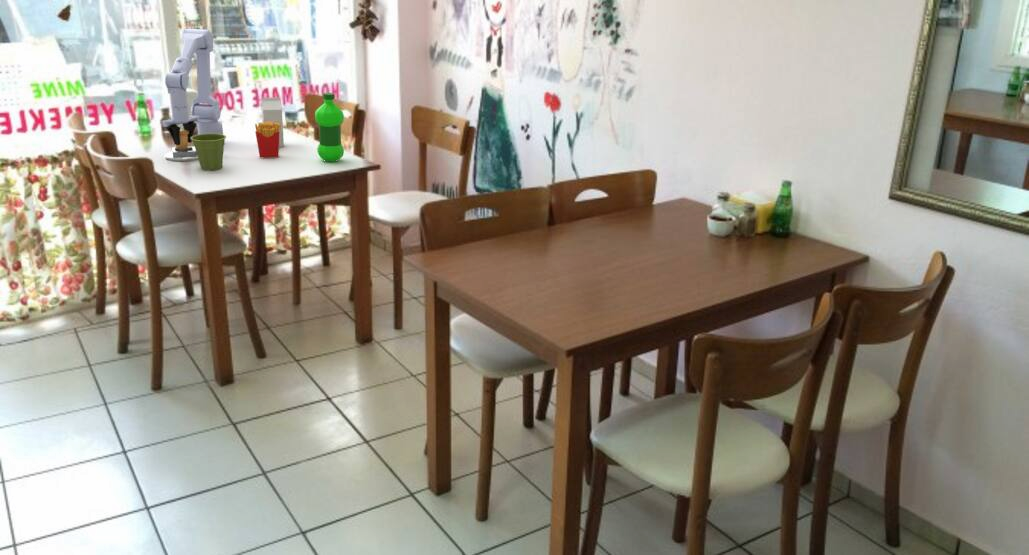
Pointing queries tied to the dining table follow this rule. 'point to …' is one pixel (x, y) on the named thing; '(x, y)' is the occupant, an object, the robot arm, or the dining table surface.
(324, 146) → the plastic bottle
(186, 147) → the pin
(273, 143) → the french fries
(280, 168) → the dining table surface
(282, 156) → the dining table surface
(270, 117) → the milk carton
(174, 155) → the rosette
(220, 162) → the plant pot
